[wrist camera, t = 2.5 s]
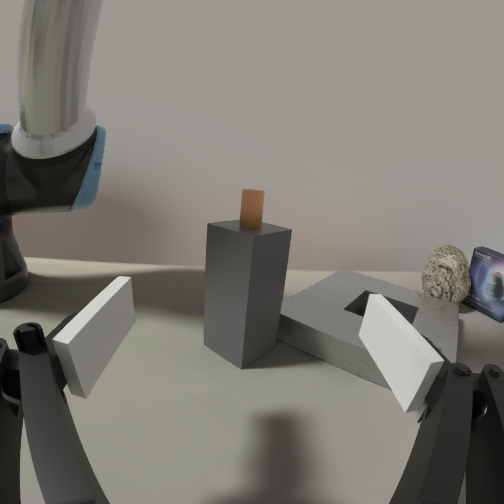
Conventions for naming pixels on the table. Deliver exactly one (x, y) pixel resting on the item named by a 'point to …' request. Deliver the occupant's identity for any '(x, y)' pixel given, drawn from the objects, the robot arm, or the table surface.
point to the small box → (487, 283)
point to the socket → (360, 320)
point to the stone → (446, 275)
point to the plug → (244, 283)
